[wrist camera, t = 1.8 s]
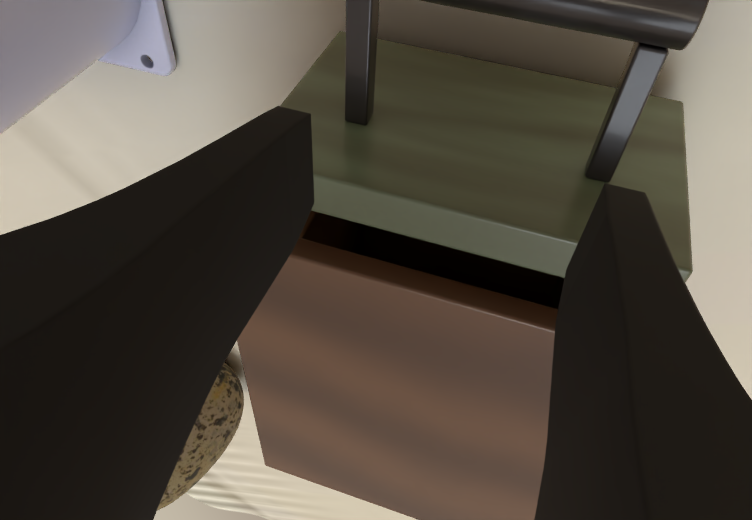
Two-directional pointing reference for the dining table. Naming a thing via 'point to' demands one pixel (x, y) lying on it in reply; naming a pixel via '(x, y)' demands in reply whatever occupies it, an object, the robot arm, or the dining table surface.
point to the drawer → (492, 146)
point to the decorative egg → (208, 434)
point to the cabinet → (401, 386)
